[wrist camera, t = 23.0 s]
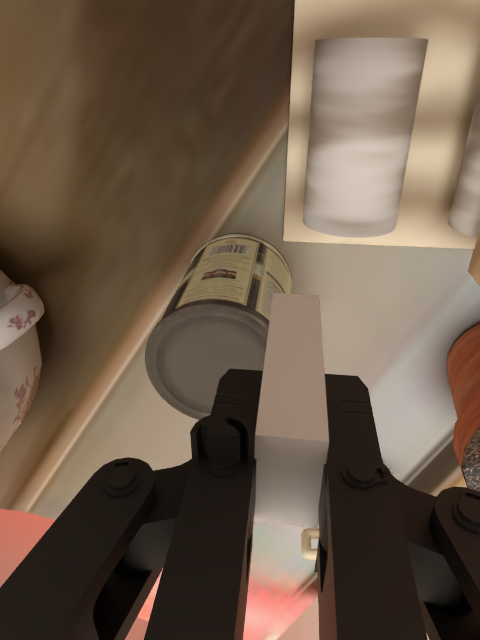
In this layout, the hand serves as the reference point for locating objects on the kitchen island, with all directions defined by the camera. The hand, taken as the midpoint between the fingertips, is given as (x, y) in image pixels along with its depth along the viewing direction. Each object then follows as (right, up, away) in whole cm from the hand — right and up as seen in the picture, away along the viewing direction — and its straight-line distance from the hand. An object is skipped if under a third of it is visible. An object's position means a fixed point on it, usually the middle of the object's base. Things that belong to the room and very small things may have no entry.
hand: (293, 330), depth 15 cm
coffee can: (-2, +4, +29) cm, 29 cm away
